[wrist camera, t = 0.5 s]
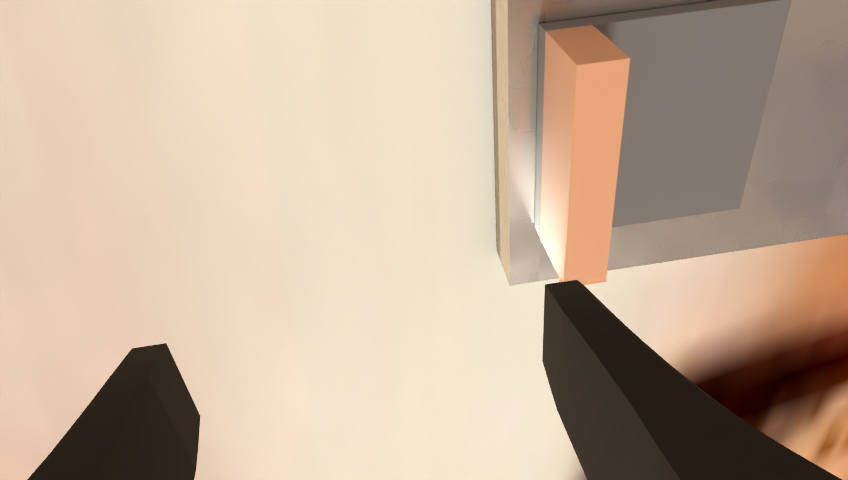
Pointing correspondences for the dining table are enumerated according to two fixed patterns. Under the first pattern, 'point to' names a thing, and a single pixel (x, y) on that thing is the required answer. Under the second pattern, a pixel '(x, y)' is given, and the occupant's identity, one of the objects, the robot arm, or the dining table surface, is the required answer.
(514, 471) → the dining table surface
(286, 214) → the dining table surface
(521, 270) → the socket plate
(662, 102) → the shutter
